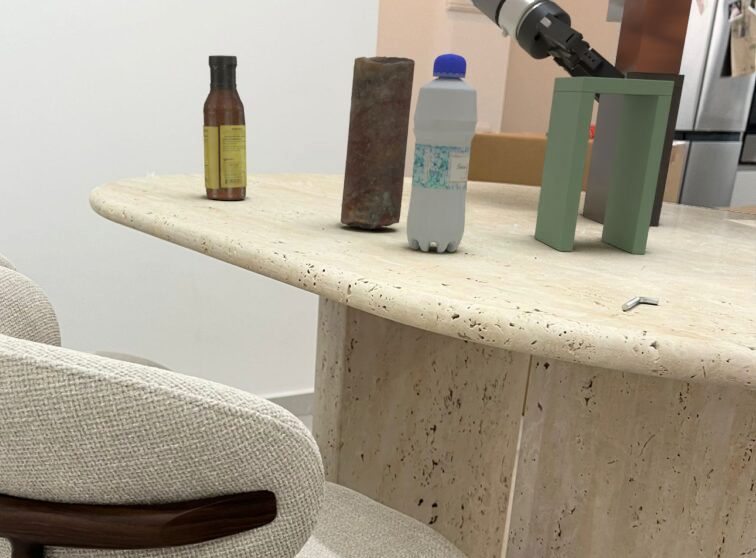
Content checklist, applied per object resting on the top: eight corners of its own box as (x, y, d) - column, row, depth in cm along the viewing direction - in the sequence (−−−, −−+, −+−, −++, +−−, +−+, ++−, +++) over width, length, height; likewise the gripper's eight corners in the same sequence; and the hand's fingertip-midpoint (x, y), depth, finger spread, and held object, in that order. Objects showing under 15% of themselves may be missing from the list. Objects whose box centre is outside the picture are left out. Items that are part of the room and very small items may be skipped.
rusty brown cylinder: (411, 229, 119) (425, 57, 112) (383, 235, 113) (397, 54, 106) (358, 222, 123) (369, 56, 115) (329, 227, 117) (338, 52, 110)
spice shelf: (633, 217, 142) (657, 75, 135) (658, 226, 134) (685, 74, 127) (582, 215, 142) (603, 72, 134) (603, 224, 133) (627, 71, 126)
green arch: (612, 240, 117) (637, 81, 111) (644, 254, 108) (674, 81, 102) (534, 238, 117) (554, 77, 110) (559, 251, 107) (584, 76, 101)
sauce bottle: (251, 198, 144) (254, 57, 137) (239, 202, 138) (241, 55, 131) (210, 195, 145) (211, 55, 138) (196, 199, 139) (197, 53, 132)
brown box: (628, 75, 142) (641, -4, 139) (679, 74, 126) (695, -16, 122) (590, 73, 142) (601, -6, 138) (636, 72, 126) (650, -18, 122)
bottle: (448, 256, 100) (468, 52, 93) (392, 249, 103) (407, 51, 96) (473, 250, 105) (494, 56, 98) (418, 242, 109) (435, 54, 101)
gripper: (544, 80, 153) (630, 159, 144) (486, 0, 132) (583, 87, 123) (579, 43, 151) (669, 121, 142) (526, -44, 130) (628, 41, 121)
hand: (629, 106), depth 132 cm, fingers open, 13 cm apart
